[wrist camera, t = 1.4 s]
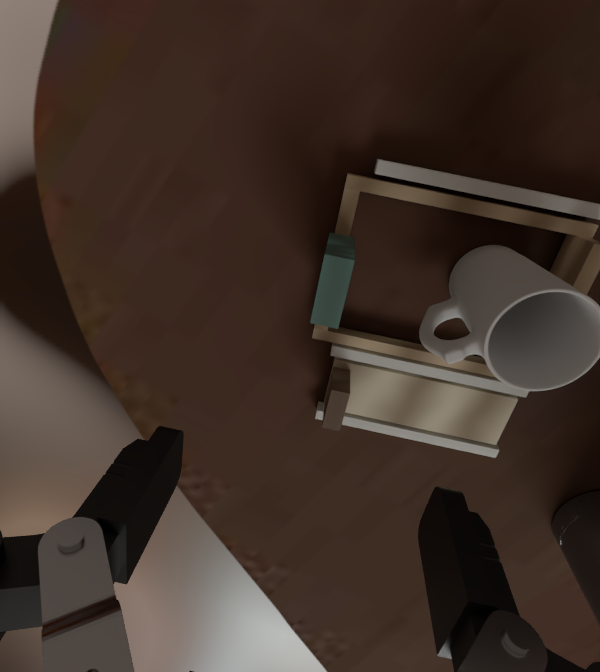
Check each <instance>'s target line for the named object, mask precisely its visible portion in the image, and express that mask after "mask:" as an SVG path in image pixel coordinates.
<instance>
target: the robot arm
mask: <svg viewBox="0 0 600 672" xmlns="http://www.w3.org/2000/svg"><path fill="white" fill-rule="evenodd" d="M183 437H184V434H183V431H181V430H176V429H172V428H167V427H162V426H159V427H158V428H157V429H156V430H155V432H154V433H153V435H152V436H151V438H150V439H149V441H146V440H141V439H137V440H135V441H134V442H132V443H131V444H129V445H128V446H126V447H125V448H123V450H122V451H121V452H120V454H119V455H118V456H117V458H116V459H115V460H114V463H113V464H112V465H111V466H110V467H109V469H108V470H107V472H106V474H105V475H103V477H102V478H101V480H100V481H99V482H98V484H97V485H96V486H95V488H94V489H93V490H92V492H91V493H90V494H89V496H88V497H87V499H86V500H85V501H84V503H83V504H82V505H81V507H80V508H79V509H78V511H77V512H76V514H75V515H74V516H73V517H72V518H69V519H66V520H63V521H61V522H59V523H57V524H56V525H54V526H52V527H51V528H50V529H49V530H48V531H47V532H46V533H43V534H39V535H31V536H17V537H4V538H3V537H2V533H1V531H0V640H1V639H2V637H3V636H4V634H5V632H6V631H10V630H18V629H26V628H33V627H41V626H42V627H43V629H42V655H43V672H134V668H133V663H132V658H131V653H130V649H129V644H128V639H127V634H126V630H125V625H124V620H123V615H122V611H121V607H120V603H119V601H118V600H117V599H116V596H115V591H114V586H113V584H114V582H118V583H123V584H127V583H128V581H129V579H130V577H131V575H132V573H133V571H134V569H135V567H136V565H137V563H138V561H139V559H140V557H141V555H142V553H143V551H144V549H145V547H146V545H147V543H148V541H149V539H150V537H151V535H152V533H153V531H154V529H155V527H156V525H157V523H158V521H159V519H160V517H161V516H162V514H163V511H164V509H165V508H166V506H167V504H168V502H169V500H170V498H171V495H172V494H173V492H174V490H175V487H176V485H177V483H178V480H179V477H180V473H181V467H182V452H183ZM552 530H553V534H554V536H555V538H556V540H557V542H558V544H559V546H560V548H561V550H562V552H563V554H564V556H565V558H566V560H567V562H568V564H569V566H570V568H571V570H572V572H573V574H574V576H575V578H576V580H577V582H578V584H579V586H580V588H581V590H582V592H583V594H584V596H585V598H586V600H587V602H588V604H589V606H590V608H591V609H592V611H593V613H594V615H595V617H596V619H597V621H598V623H599V625H600V491H594V492H589V493H585V494H582V495H580V496H577V497H575V498H573V499H571V500H570V501H568V502H567V503H565V504H564V505H563V506H562V507H561V508H560V509H559V510H558V511H557V512H556V514H555V516H554V518H553V522H552ZM418 541H419V548H420V554H421V560H422V566H423V572H424V578H425V584H426V590H427V596H428V602H429V609H430V615H431V621H432V627H433V633H434V639H435V645H436V651H437V656H440V657H445V658H449V659H452V662H453V667H454V672H600V662H595V663H592V664H591V665H589V667H588V668H587V669H586V670H585V669H583V668H581V667H579V666H577V665H575V664H574V663H572V662H570V661H568V660H566V659H564V658H562V657H561V656H559V655H557V654H555V653H553V652H552V651H550V650H549V649H547V648H546V647H545V645H544V643H543V641H542V639H541V637H540V636H539V634H538V633H537V632H536V630H535V629H534V628H533V627H532V626H531V625H530V624H529V623H528V622H527V621H526V620H524V619H523V618H521V617H520V615H519V613H518V610H517V607H516V604H515V601H514V598H513V595H512V593H511V590H510V587H509V584H508V581H507V578H506V575H505V573H504V570H503V567H502V564H501V562H500V561H499V560H500V558H499V555H498V553H497V550H496V549H495V544H494V541H493V538H492V535H491V532H490V530H489V528H488V527H487V525H486V524H485V523H484V521H483V520H482V519H481V517H480V516H479V515H478V513H475V512H470V511H469V510H468V507H467V504H466V501H465V497H464V495H463V493H462V492H460V491H456V490H451V489H446V488H442V487H435V488H434V490H433V492H432V495H431V497H430V499H429V502H428V504H427V506H426V508H425V511H424V513H423V515H422V518H421V520H420V524H419V530H418ZM190 672H192V671H190Z"/></svg>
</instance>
